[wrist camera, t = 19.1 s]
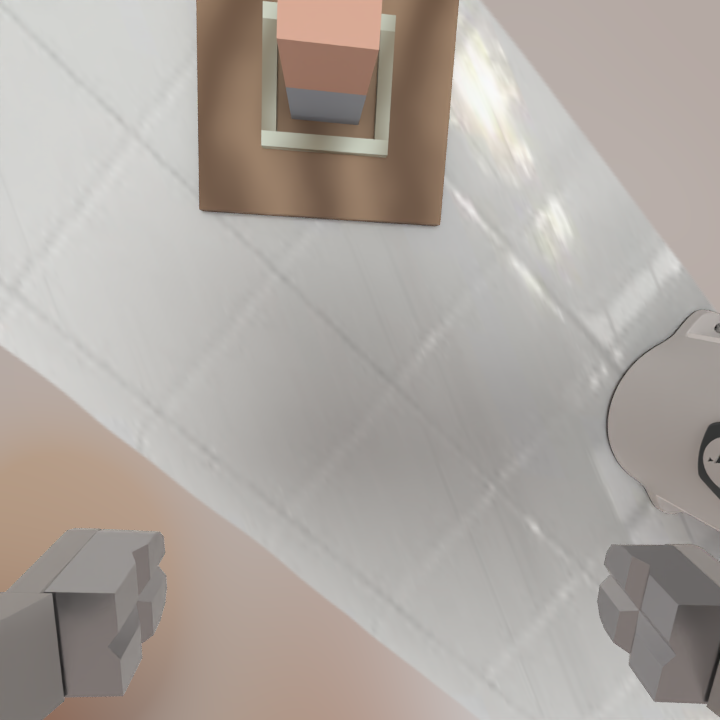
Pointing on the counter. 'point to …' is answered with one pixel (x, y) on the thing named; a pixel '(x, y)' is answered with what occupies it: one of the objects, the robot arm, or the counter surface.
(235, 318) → the counter surface
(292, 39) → the brick stack
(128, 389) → the counter surface
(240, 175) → the base plate
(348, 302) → the counter surface
